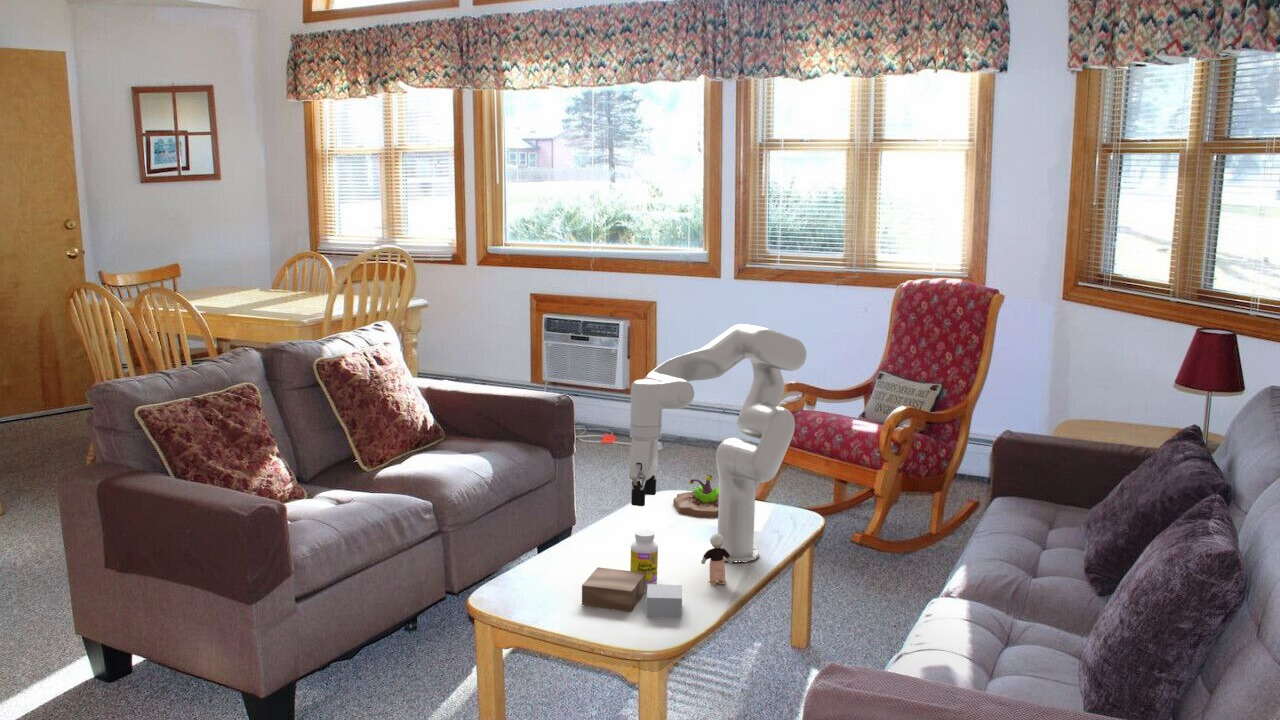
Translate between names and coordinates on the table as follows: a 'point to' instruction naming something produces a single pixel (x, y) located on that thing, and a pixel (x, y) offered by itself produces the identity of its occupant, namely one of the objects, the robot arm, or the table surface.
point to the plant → (699, 500)
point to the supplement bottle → (645, 556)
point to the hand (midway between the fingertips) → (643, 499)
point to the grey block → (664, 601)
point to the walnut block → (613, 589)
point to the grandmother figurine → (717, 560)
